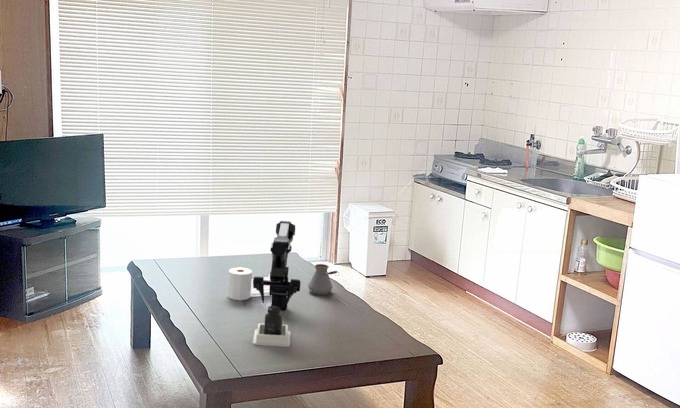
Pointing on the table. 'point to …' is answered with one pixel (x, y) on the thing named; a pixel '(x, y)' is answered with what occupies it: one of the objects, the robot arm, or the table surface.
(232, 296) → the toilet paper
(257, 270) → the table surface
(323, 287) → the coffee pot
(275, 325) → the supplement bottle
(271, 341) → the holder
